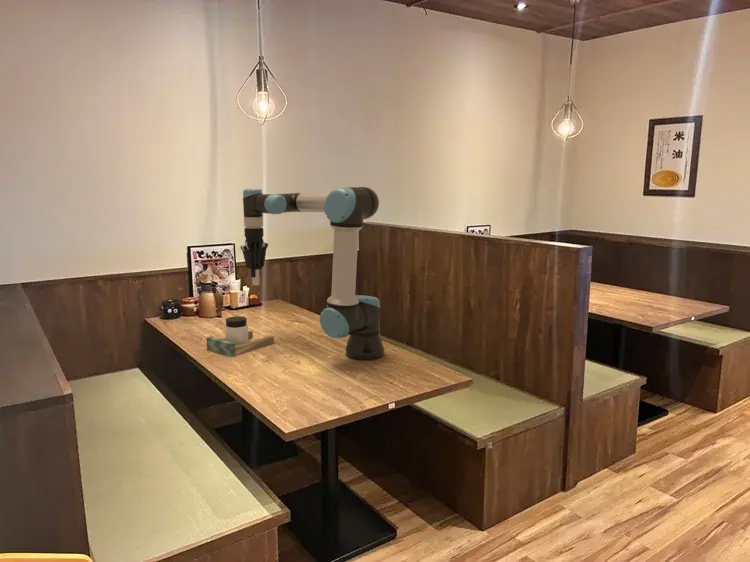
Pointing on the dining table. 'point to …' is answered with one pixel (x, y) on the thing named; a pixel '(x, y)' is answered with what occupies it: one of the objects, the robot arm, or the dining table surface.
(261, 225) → the robot arm
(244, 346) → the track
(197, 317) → the dining table surface
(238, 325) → the jar
